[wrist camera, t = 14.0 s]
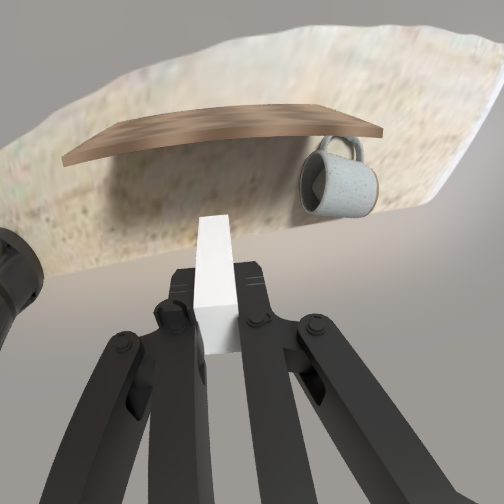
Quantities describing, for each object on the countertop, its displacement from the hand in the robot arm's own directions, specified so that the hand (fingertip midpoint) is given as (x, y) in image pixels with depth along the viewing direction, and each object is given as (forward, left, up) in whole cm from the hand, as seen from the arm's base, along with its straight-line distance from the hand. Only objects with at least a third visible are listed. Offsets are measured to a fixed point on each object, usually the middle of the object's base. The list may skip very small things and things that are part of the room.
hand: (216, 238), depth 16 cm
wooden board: (+1, +4, -21) cm, 21 cm away
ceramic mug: (+15, -3, -21) cm, 26 cm away
